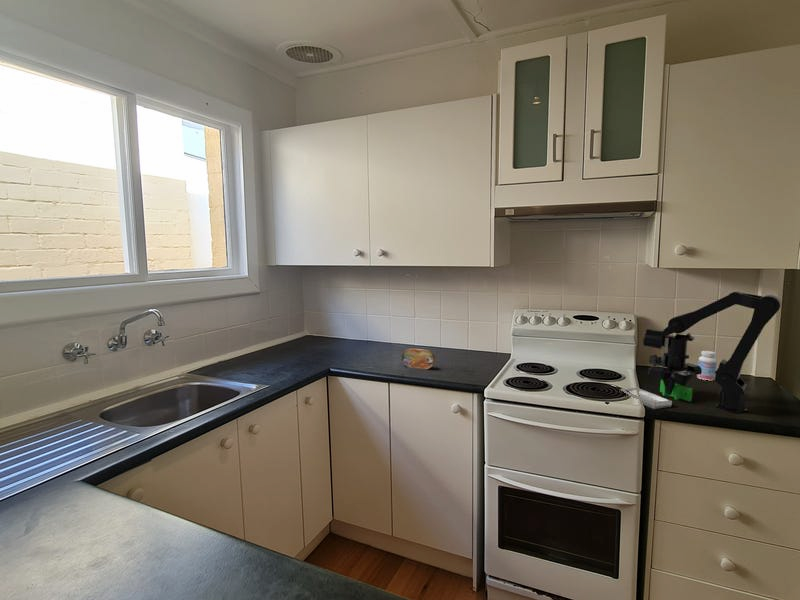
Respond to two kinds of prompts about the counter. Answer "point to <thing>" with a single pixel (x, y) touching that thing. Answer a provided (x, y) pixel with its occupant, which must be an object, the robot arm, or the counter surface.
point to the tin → (418, 358)
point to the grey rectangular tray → (649, 398)
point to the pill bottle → (707, 365)
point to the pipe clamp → (678, 392)
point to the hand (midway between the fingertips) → (673, 393)
